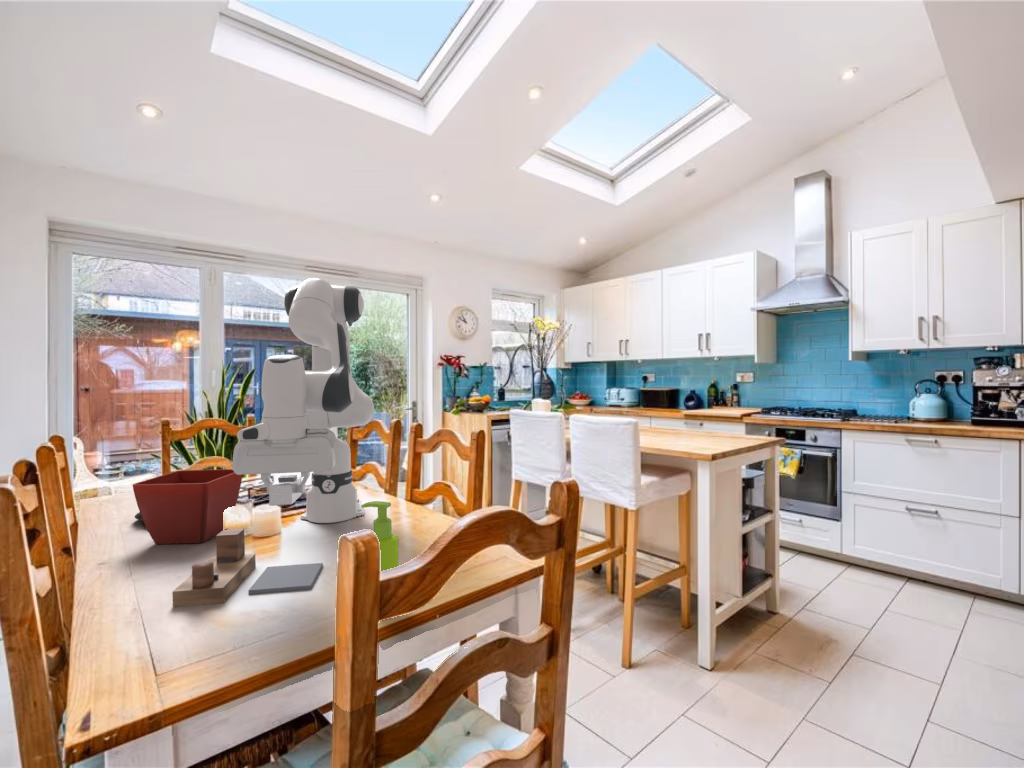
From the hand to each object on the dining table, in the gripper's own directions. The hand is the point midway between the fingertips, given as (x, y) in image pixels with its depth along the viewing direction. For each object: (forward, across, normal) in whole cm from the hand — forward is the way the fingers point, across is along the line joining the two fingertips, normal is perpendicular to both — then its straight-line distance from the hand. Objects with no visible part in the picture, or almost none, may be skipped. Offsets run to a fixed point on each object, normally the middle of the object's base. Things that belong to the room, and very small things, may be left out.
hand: (286, 492), depth 104 cm
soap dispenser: (+19, -21, +16) cm, 33 cm away
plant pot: (+19, +34, -35) cm, 52 cm away
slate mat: (+19, 0, 0) cm, 19 cm away
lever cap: (+2, 0, 0) cm, 2 cm away
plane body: (+19, +14, 0) cm, 23 cm away
